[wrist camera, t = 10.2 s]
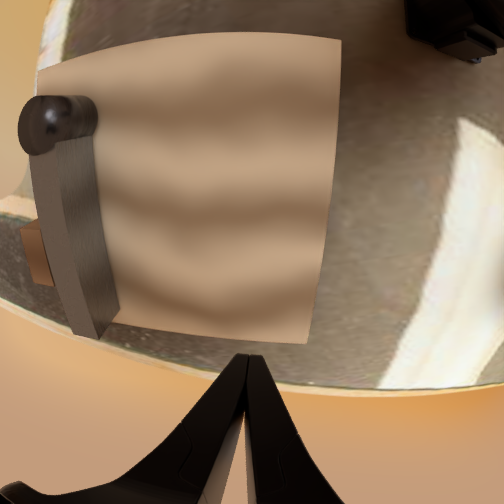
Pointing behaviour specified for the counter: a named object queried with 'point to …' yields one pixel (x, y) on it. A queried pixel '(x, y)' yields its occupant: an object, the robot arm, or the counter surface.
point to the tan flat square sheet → (213, 176)
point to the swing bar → (70, 207)
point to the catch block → (36, 254)
